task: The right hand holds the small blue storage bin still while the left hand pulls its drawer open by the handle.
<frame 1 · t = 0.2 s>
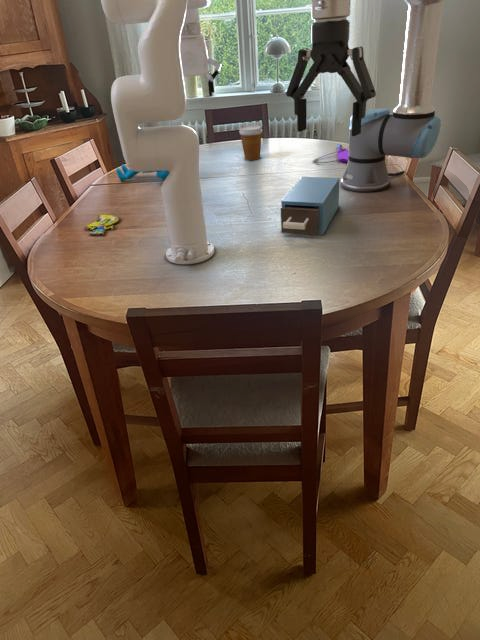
left hand: (195, 96, 145), 31 cm above the table, tool pointing down, fingers open, 9 cm apart
right hand: (328, 132, 106), 28 cm above the table, tool pointing down, fingers open, 13 cm apart
drawer: (306, 212, 131), point 4 cm above the table, slide at 1.5 cm
blue storage bin: (311, 219, 139), on the table
toy: (156, 179, 185), on the table
disposable coffee cup: (252, 158, 200), on the table
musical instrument: (332, 157, 191), on the table
toy 2: (103, 225, 147), on the table
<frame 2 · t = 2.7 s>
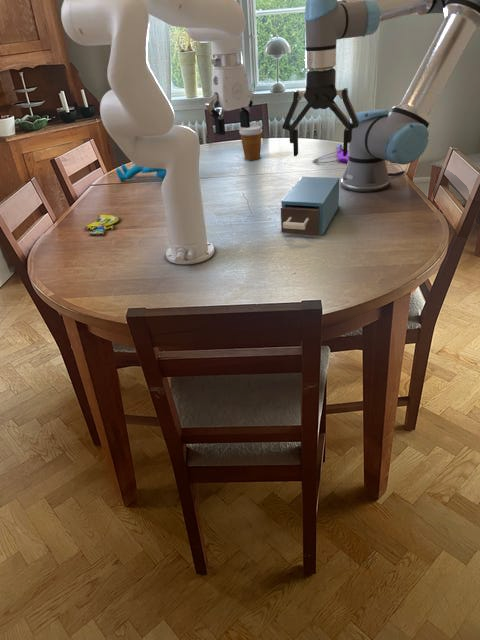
left hand: (233, 130, 134), 24 cm above the table, tool pointing down, fingers open, 9 cm apart
right hand: (320, 155, 132), 17 cm above the table, tool pointing down, fingers open, 13 cm apart
nothing on the table moved.
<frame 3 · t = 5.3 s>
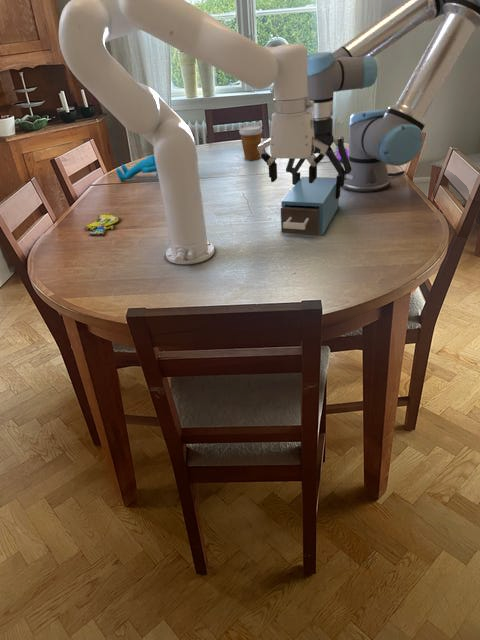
left hand: (292, 181, 118), 16 cm above the table, tool pointing down, fingers open, 9 cm apart
right hand: (317, 196, 142), 4 cm above the table, tool pointing down, fingers closed on blue storage bin, 11 cm apart
blue storage bin: (311, 219, 139), on the table, touching right hand
everything else where it was.
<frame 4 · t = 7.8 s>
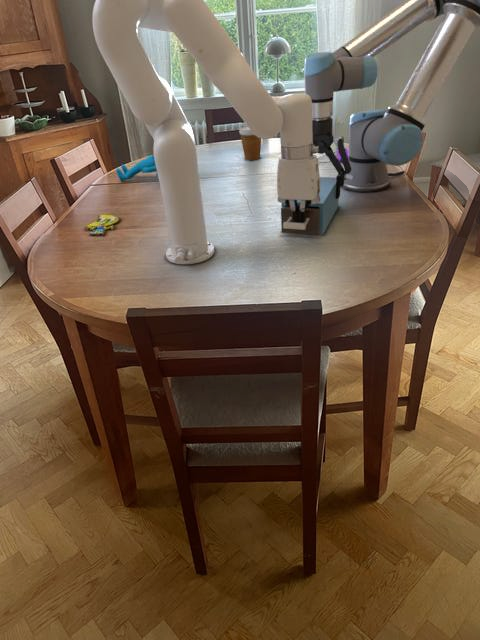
left hand: (299, 224, 123), 5 cm above the table, tool pointing down, fingers closed
right hand: (317, 196, 142), 4 cm above the table, tool pointing down, fingers closed on blue storage bin, 11 cm apart
drawer: (306, 212, 131), point 4 cm above the table, slide at 1.4 cm, touching left hand
blue storage bin: (311, 218, 139), on the table, touching right hand
everything else where it was.
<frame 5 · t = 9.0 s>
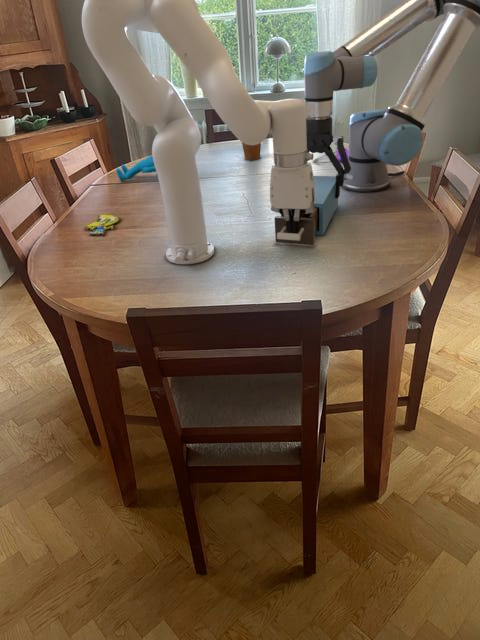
left hand: (293, 234, 119), 5 cm above the table, tool pointing down, fingers closed
right hand: (317, 196, 142), 4 cm above the table, tool pointing down, fingers closed on blue storage bin, 11 cm apart
drawer: (301, 220, 127), point 4 cm above the table, slide at 7.0 cm, touching left hand
blue storage bin: (311, 218, 138), on the table, touching right hand
everything else where it was.
when the right hand's fingers open (4 cm above the table, at t = 10.9 s): blue storage bin stays where it is, on the table.
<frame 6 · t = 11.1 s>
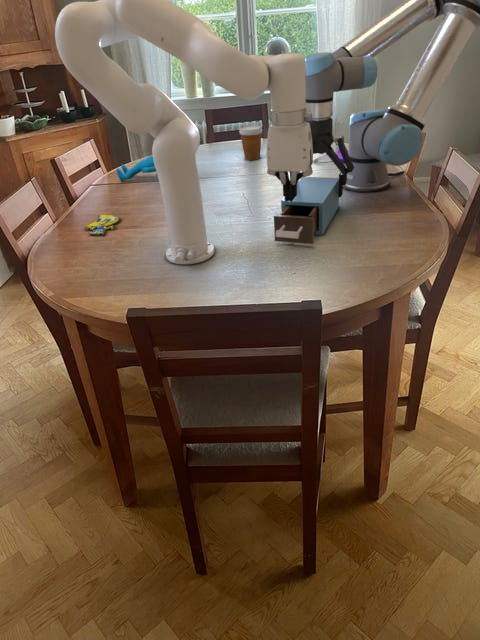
left hand: (290, 199, 115), 13 cm above the table, tool pointing down, fingers closed
right hand: (317, 194, 142), 5 cm above the table, tool pointing down, fingers open, 13 cm apart
drawer: (300, 219, 127), point 4 cm above the table, slide at 7.1 cm
blue storage bin: (311, 219, 138), on the table
everything else where it was.
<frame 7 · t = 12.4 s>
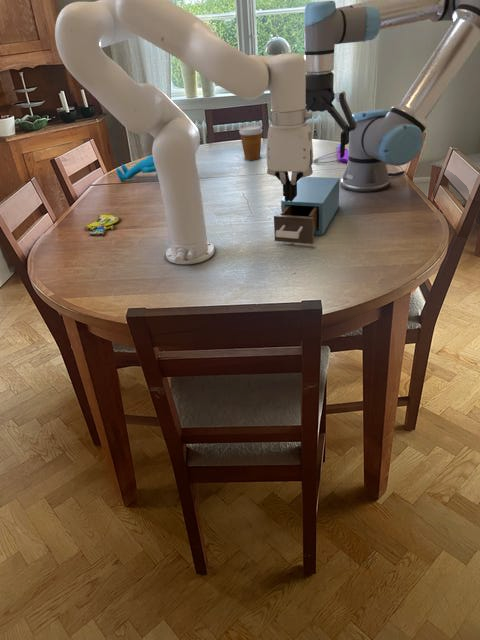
left hand: (290, 199, 115), 13 cm above the table, tool pointing down, fingers closed
right hand: (318, 156, 136), 16 cm above the table, tool pointing down, fingers open, 13 cm apart
nothing on the table moved.
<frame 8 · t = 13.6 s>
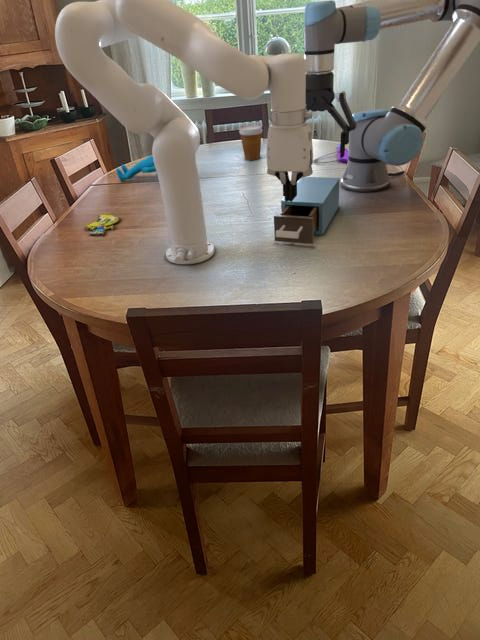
left hand: (290, 199, 115), 13 cm above the table, tool pointing down, fingers closed
right hand: (318, 156, 136), 16 cm above the table, tool pointing down, fingers open, 13 cm apart
nothing on the table moved.
at the end: drawer slide at 7.1 cm; blue storage bin tilted 0°; blue storage bin never tilted more than 2° during the clip; blue storage bin moved 0.0 cm from its start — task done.
